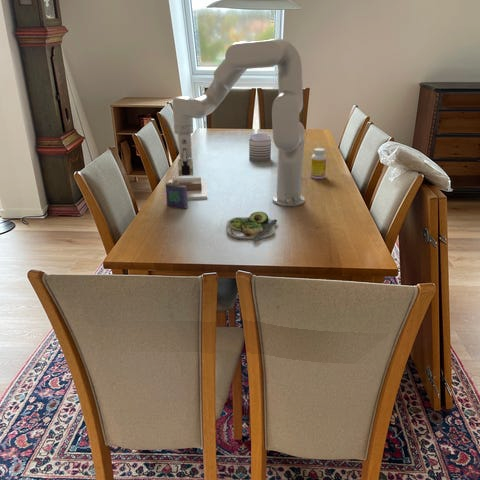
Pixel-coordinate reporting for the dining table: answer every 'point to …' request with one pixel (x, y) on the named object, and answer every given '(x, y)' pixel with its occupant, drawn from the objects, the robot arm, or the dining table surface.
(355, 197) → the dining table surface
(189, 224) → the dining table surface
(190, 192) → the plate
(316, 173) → the supplement bottle
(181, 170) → the birch block
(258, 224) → the salad plate
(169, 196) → the flask
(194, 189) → the plinth
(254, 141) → the can
